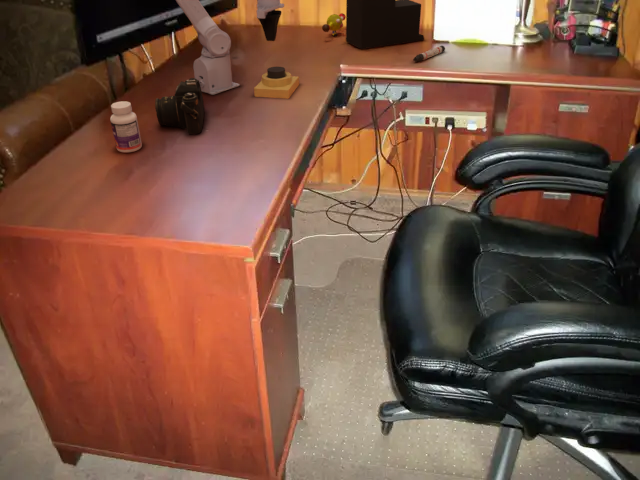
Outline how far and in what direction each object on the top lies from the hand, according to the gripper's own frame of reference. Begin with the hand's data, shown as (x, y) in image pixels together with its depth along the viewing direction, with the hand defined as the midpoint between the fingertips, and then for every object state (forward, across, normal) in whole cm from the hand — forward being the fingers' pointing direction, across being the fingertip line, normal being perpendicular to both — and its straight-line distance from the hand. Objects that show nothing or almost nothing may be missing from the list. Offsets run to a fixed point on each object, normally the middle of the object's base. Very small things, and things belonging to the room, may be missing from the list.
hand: (271, 40), depth 165 cm
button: (+7, -9, -4) cm, 12 cm away
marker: (+11, +26, -40) cm, 49 cm away
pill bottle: (+10, -50, +18) cm, 54 cm away
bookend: (+11, +42, -25) cm, 50 cm away
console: (+10, -9, -4) cm, 14 cm away
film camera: (+10, -35, +11) cm, 38 cm away
